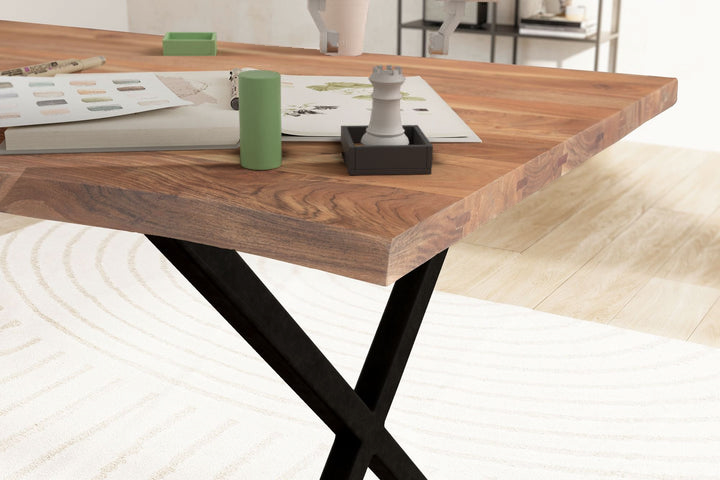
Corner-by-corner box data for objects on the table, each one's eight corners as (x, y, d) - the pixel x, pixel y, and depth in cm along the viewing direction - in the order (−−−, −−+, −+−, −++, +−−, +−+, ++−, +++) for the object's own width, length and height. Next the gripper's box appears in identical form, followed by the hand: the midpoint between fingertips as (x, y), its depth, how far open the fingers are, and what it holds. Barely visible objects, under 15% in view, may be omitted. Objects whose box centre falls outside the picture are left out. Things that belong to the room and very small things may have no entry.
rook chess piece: (372, 166, 76) (375, 74, 73) (351, 152, 80) (353, 64, 77) (417, 161, 78) (422, 71, 75) (395, 148, 82) (399, 61, 79)
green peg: (240, 170, 76) (237, 78, 73) (240, 158, 79) (238, 69, 76) (282, 170, 77) (281, 78, 74) (280, 158, 80) (279, 69, 77)
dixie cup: (366, 59, 126) (368, -14, 122) (309, 56, 127) (309, -16, 123) (374, 49, 133) (376, -19, 130) (320, 47, 135) (320, -22, 131)
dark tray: (349, 175, 76) (349, 147, 75) (340, 151, 82) (340, 125, 81) (431, 174, 76) (433, 146, 76) (416, 150, 83) (417, 124, 82)
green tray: (163, 58, 123) (162, 40, 122) (167, 49, 130) (166, 32, 129) (215, 58, 124) (214, 40, 123) (217, 49, 131) (216, 32, 130)
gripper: (508, -116, 75) (492, 49, 80) (264, -127, 72) (264, 44, 77) (530, -116, 69) (512, 62, 74) (266, -128, 66) (266, 58, 71)
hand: (383, 53), depth 76 cm, fingers open, 8 cm apart
